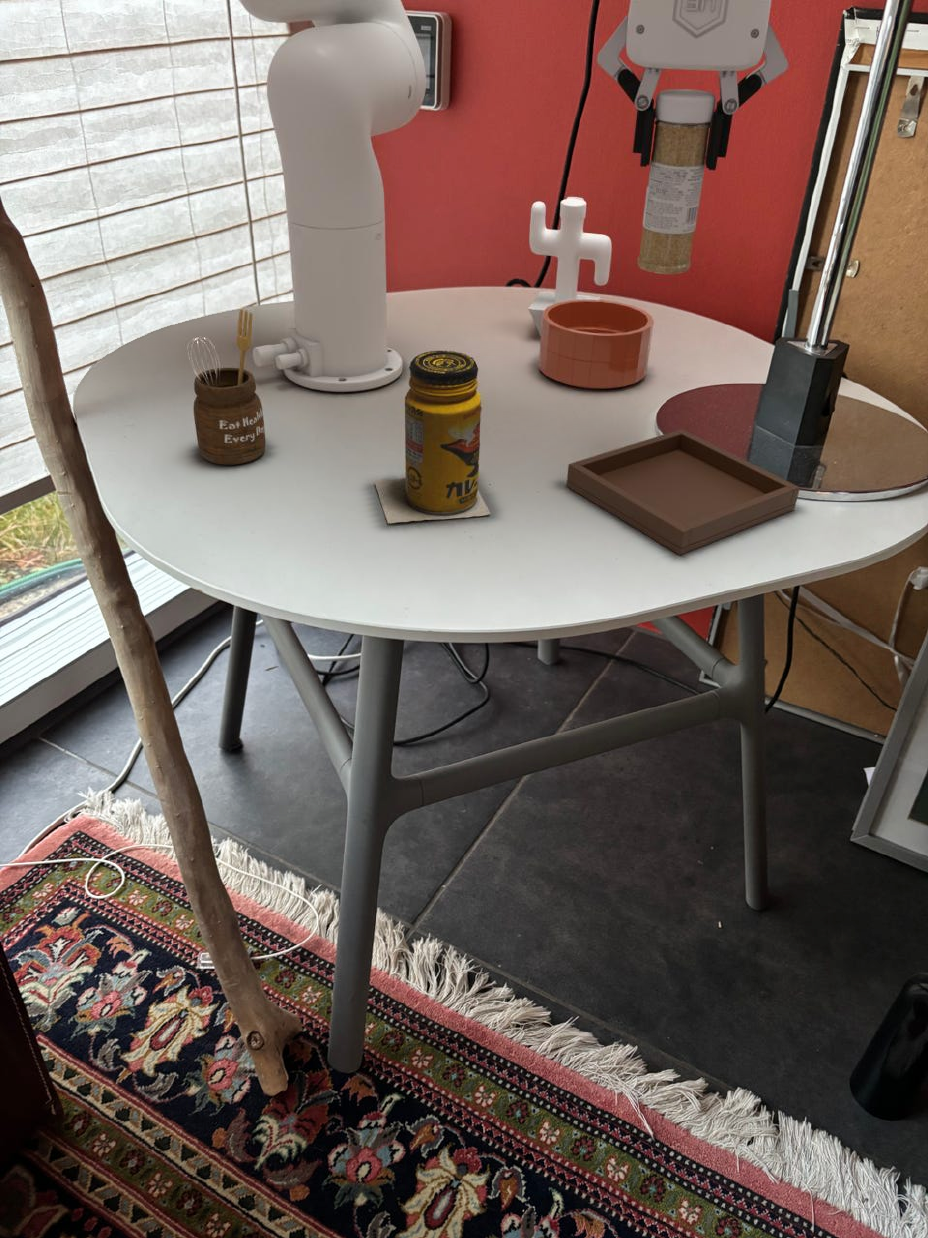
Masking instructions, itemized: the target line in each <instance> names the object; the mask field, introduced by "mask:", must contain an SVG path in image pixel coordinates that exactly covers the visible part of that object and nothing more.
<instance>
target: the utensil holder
mask: <svg viewBox="0 0 928 1238" xmlns="http://www.w3.org/2000/svg"><path fill="white" fill-rule="evenodd" d="M253 314H254V313H253V312H252V311H250V312H249V311H248V310H245V311H244V310H243V308H240V309H239V313H238V323H237V331H236V332H237V333H236V342H235V344H236V346H237V348H238V349H239V351H240V352H239V353H240V354H239V364H238V365H239V366H238V367H221V363H220V359H219V356H218V353H217V350H216V347H215V345H214V344H213V343H212V342H211V340H210V339H209V338H207V336H204V337H201V336H197V337H193V338H192V339H191V340H190V341H189V343H188V344H187V348H186V352H187V356H188V360H189V362H190V365H191V368H192V370H193V372H194V374H195V375H196V377H194V382H193V383H194V384H193V390H194V394H195V395H196V397H195V399H194V402H193V418H194V426H195V432H196V433H195V434H196V440H197V445H198V449H199V452H200V454H201V457H203V458H204V460H206V461H208V462H210V463H213V464H217V465H225V466H233V465H241V464H247V463H249V462H252V461H255V460H257V459H258V458H259V457H261V456H262V455H263V454H264V452H265V449H266V431H265V430H266V429H265V420H264V412H263V406H262V402H261V399H260V397H259V395H258V394H257V393H256V391H257V383H256V380H255V377H254V374H252V372H251V371H249V370H247V369H245V358H246V352H247V351H249V350H250V349H251V346H252V335H253V333H252V332H253V318H254V315H253ZM248 315H249V316H248ZM202 339H204V340H205V341H206V340H207V341H208V342H209V343H210V345H211V348H212V351H213V355H214V359H215V363H214V359H213V356H212V354H211V351H210V349H209V347H208V345H207V344H206V342H204V341H203V340H202ZM199 340H200V343H201V346H202V349H203V352H204V355H205V360H206V364H207V367H208V369H207V370H205V366H204V362H203V359H202V355H201V351H200V347H199V345H197V349H198V354H199V357H200V360H201V364H202V368H203V371H202V369H201V368H200V365H199V363H198V360H197V357H196V354H195V350H194V347H193V345H194V343H195V342H196V341H197V344H199ZM190 343H191V345H190ZM203 343H204V344H203ZM189 345H190V349H192V351H193V356H194V358H195V362H196V364H197V366H198V369H199V371H200V373H198V372H197V370H196V367H195V365H194V360H193V357H192V355H190V354H189ZM204 345H205V347H206V348H207V350H208V351H209V354H210V358H211V360H212V364H213V367H214V368H211V369H210V365H209V362H208V361H209V360H208V357H207V354H206V352H205V348H204ZM217 360H218V361H217ZM217 362H218V363H217ZM215 365H216V366H215ZM218 365H219V367H218Z"/></svg>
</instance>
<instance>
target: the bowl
mask: <svg viewBox="0 0 928 1238" xmlns="http://www.w3.org/2000/svg"><path fill="white" fill-rule="evenodd" d="M654 323H655V322H654V319H653V316H652V315H651V314H650V313H649V312H647V311H646V310H644V309H642V308H639V307H638V306H637V307H636V306H635V305H631V304H628V303H623V302H619V301H613V300H612V301H611V300H606V299H605V300H604V299H599V300H586V299H585V300H570V301H565V302H560V303H556V304H553V305H551V306H549V307H547V308H546V309H545V310H544V311H543V313H542V325H541V336H540V340H539V355H538V366H539V367H538V368H539V370H540V371H541V372H542V374H544V375H545V376H546V377H548V378H551V379H553V380H554V381H557V382H560V383H562V384H565V385H569V386H572V387H576V388H583V389H591V390H592V389H594V390H606V389H616V388H622V387H626V386H629V385H633V384H636V383H638V382H639V381H642V380H643V379H644V378H645V376H646V374H647V372H648V365H649V359H650V351H651V345H652V344H651V343H652V336H653V330H654Z"/></svg>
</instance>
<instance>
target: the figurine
mask: <svg viewBox="0 0 928 1238" xmlns="http://www.w3.org/2000/svg"><path fill="white" fill-rule="evenodd" d="M559 208H560V209H559V217H560V228H559V229H549V228H547V225H546V214H547V213H546V211H547V206H546V204H545V203H544V202H542V201H535V202H534V203H533V204H532V205H531V208H530V221H529V239H528V240H529V242H528V243H529V249H530V251H531V253H533V254H535V255H540V256H548V257H549V256H550V257H554V258H555V257H556V258H557V268H556V280H555V291H548V290H540V291H539V293H538V294H537V296H536V297H535V298H534V300H533V302H532V303H531V304H530V306H529V307H528V311H529V314H530V316H531V318H532V320H533V323H534V325H535V327H536V329H537V332H538V333H539V336H540V337H541V325H542V313H543V311H544V310H545V309H546V308H547V307H549V306H551V305H553V304H556V303H560V302H565V301H570V300H585V299H586V300H601V297H600V296H593V295H583V294H578V283H579V274H580V263H581V260H589V261H593V263H594V276H593V281H594V284H595V285H596V286H598V287H599V286H601V287H602V286H603V287H604V286H605V285H607V284H608V282H609V277H610V270H611V261H612V252H613V251H612V249H613V247H612V246H613V245H612V240H611V238H610V237H609V236H608V235H606V234H601V233H600V234H599V233H590V232H589V233H588V232H584V222H585V219H586V216H587V215H586V214H587V213H586V212H587V202H586V201H585V200H584V198H583V197H578V196H567V197H566V198H565V199H563V200H561V201H560V207H559Z"/></svg>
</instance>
